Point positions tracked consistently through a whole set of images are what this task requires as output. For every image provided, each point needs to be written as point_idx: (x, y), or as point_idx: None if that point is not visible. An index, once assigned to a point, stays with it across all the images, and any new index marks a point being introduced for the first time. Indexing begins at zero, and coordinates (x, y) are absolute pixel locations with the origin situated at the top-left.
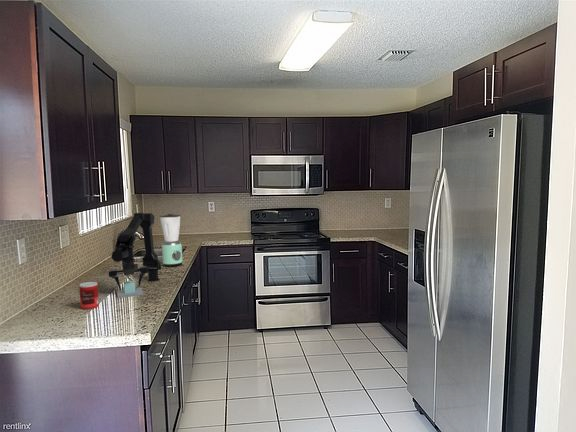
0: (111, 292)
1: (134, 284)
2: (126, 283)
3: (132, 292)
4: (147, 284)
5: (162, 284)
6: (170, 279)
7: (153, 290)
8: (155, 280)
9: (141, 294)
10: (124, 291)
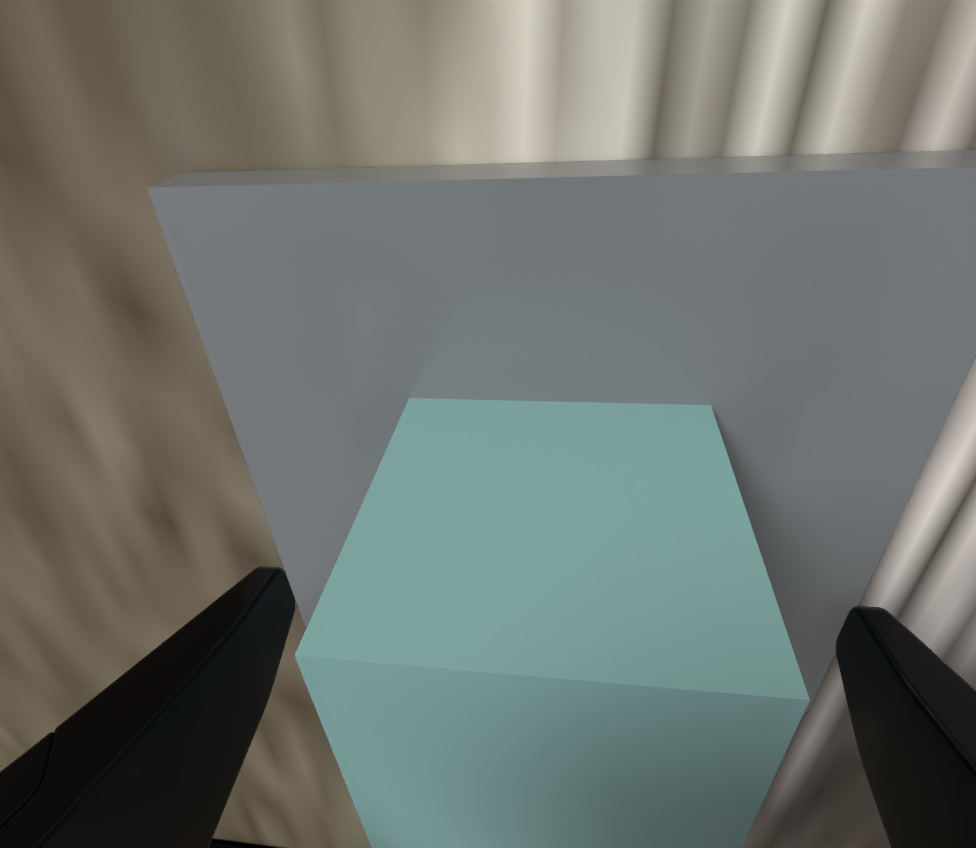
0: None
1: (339, 584)
2: (682, 707)
3: (486, 401)
4: (286, 781)
5: (52, 698)
6: None
7: (58, 467)
8: (213, 843)
9: (221, 178)
10: None
